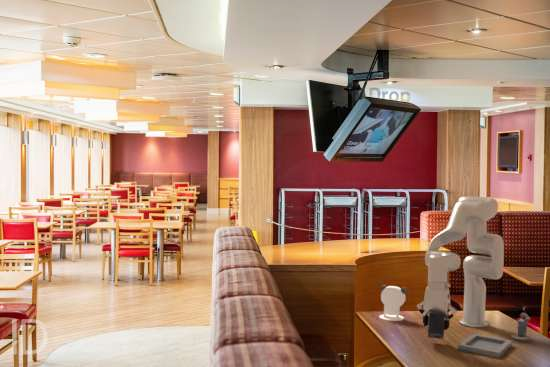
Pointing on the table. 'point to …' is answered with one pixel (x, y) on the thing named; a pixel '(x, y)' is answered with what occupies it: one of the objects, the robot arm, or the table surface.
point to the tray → (485, 345)
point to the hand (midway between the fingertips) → (435, 327)
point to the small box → (436, 324)
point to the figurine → (522, 330)
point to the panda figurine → (392, 302)
